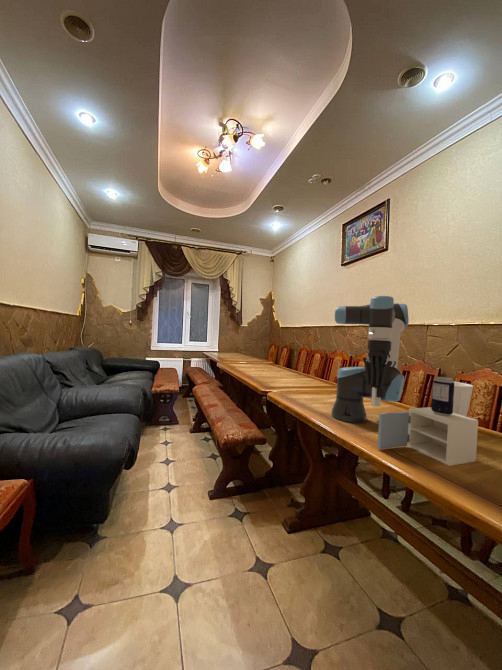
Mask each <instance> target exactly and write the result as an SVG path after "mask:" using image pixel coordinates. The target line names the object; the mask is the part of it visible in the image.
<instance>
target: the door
mask: <svg viewBox="0 0 502 670" xmlns="http://www.w3.org/2000/svg"><path fill="white" fill-rule="evenodd" d="M378 415H379V417H378V419H376V420H375V422H376V423H377V424H378V430H377V432H378V433H377V434H378V435H377V447H376V448H377V449H378V450H384V449H392V448H401V447H408V446H407V442H409V436H410V435H409V434H408V423H410V419H411V416H409V411H399V412H398V411H396V412H384V413H382V412H381V413H379V414H378Z"/></svg>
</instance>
